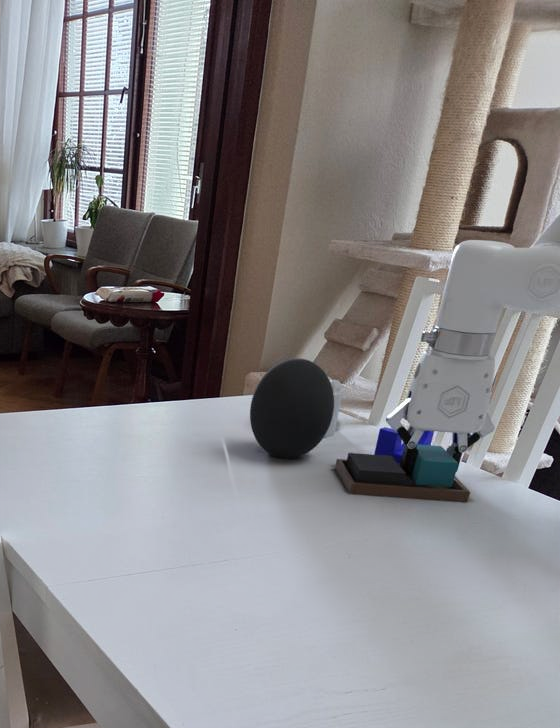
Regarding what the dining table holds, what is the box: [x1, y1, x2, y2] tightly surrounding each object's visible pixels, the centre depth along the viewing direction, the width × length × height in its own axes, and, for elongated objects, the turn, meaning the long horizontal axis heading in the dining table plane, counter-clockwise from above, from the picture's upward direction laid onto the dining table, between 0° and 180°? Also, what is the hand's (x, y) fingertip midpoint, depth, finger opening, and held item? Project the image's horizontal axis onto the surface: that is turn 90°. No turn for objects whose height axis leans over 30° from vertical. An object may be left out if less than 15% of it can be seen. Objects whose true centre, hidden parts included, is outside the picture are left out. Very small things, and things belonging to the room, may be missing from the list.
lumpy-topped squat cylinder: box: [323, 375, 344, 439], centre depth 147 cm, size 10×13×9 cm
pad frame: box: [334, 458, 471, 503], centre depth 123 cm, size 16×11×2 cm
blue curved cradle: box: [373, 426, 435, 463], centre depth 132 cm, size 12×4×6 cm, turn 133°
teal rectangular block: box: [410, 444, 459, 487], centre depth 121 cm, size 5×8×4 cm, turn 176°
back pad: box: [346, 452, 406, 486], centre depth 123 cm, size 6×8×3 cm
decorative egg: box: [249, 357, 334, 460], centre depth 130 cm, size 12×12×15 cm
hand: (426, 473), depth 122 cm, fingers closed on teal rectangular block, 4 cm apart
